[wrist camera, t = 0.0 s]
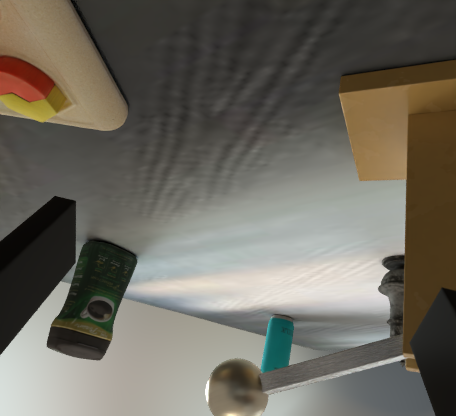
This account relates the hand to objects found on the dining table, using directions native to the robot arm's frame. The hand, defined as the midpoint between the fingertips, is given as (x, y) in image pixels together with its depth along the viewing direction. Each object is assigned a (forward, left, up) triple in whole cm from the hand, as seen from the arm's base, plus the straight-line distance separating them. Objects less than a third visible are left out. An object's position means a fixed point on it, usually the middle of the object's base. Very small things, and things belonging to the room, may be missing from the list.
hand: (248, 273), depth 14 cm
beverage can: (+77, +15, -15) cm, 80 cm away
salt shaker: (+31, +21, -15) cm, 40 cm away
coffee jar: (+55, -21, -15) cm, 61 cm away
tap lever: (+9, +5, 0) cm, 11 cm away
